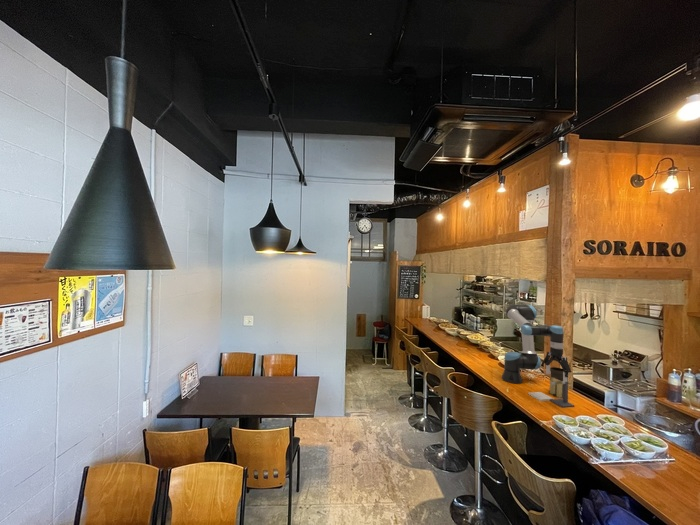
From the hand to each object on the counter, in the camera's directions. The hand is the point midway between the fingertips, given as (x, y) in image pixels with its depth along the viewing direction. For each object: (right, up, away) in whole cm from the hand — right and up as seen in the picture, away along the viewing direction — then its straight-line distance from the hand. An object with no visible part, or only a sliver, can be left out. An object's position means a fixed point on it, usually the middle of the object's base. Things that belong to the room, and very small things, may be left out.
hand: (556, 377), depth 202 cm
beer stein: (+13, -20, +18) cm, 29 cm away
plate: (-4, -19, +11) cm, 22 cm away
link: (0, -13, 0) cm, 13 cm away
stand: (+3, -19, +1) cm, 19 cm away
